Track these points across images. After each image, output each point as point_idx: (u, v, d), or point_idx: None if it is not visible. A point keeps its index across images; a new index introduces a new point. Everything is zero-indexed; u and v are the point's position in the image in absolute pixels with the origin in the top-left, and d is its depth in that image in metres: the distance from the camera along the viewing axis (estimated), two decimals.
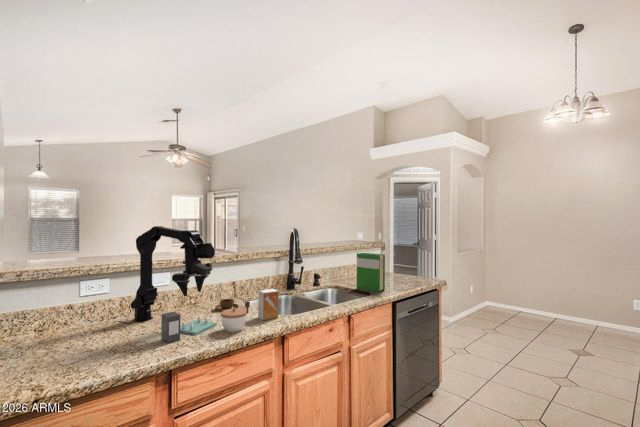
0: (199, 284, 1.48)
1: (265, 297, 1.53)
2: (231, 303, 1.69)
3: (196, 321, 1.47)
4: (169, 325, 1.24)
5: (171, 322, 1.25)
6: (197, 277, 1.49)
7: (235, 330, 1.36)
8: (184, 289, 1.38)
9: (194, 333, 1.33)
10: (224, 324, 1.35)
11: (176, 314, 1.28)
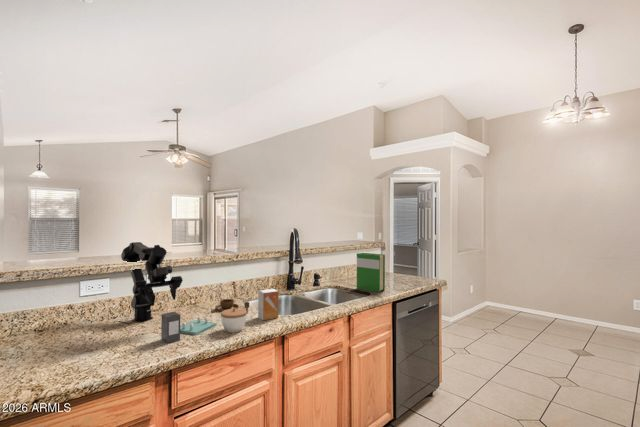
0: (173, 293, 1.39)
1: (265, 297, 1.53)
2: (231, 303, 1.69)
3: (196, 321, 1.47)
4: (169, 325, 1.24)
5: (171, 322, 1.25)
6: (171, 288, 1.41)
7: (235, 330, 1.36)
8: (147, 296, 1.31)
9: (194, 333, 1.33)
10: (224, 324, 1.35)
11: (176, 314, 1.28)
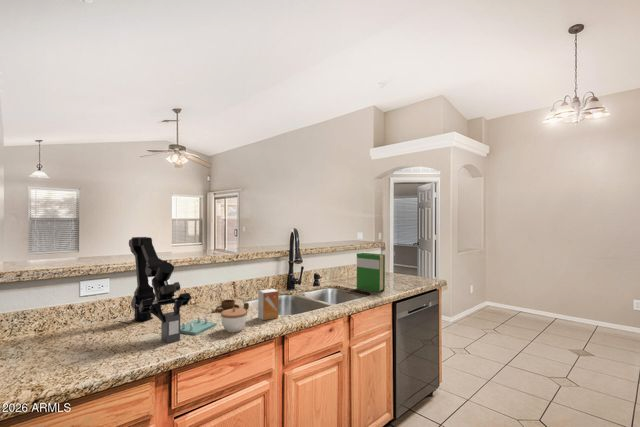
0: (176, 312, 1.31)
1: (265, 297, 1.53)
2: (231, 304, 1.68)
3: (196, 321, 1.47)
4: (169, 325, 1.24)
5: (171, 321, 1.25)
6: (174, 307, 1.33)
7: (235, 330, 1.36)
8: (159, 315, 1.26)
9: (194, 333, 1.33)
10: (224, 324, 1.35)
11: (176, 314, 1.28)
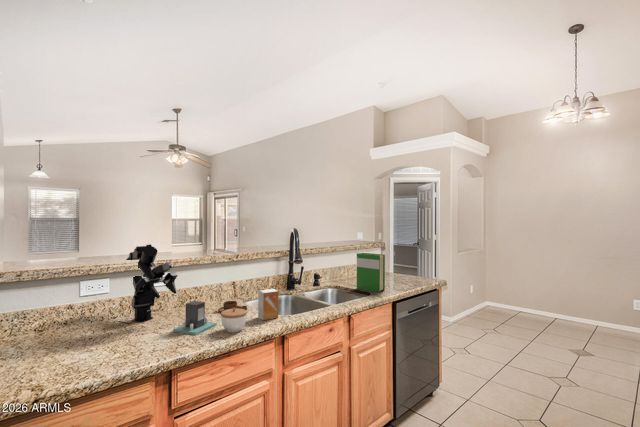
0: (172, 287, 1.49)
1: (265, 297, 1.53)
2: (233, 306, 1.65)
3: None
4: (197, 312, 1.38)
5: (199, 309, 1.39)
6: (167, 283, 1.50)
7: (235, 330, 1.36)
8: (153, 292, 1.39)
9: (194, 333, 1.33)
10: (224, 324, 1.35)
11: (200, 302, 1.42)
